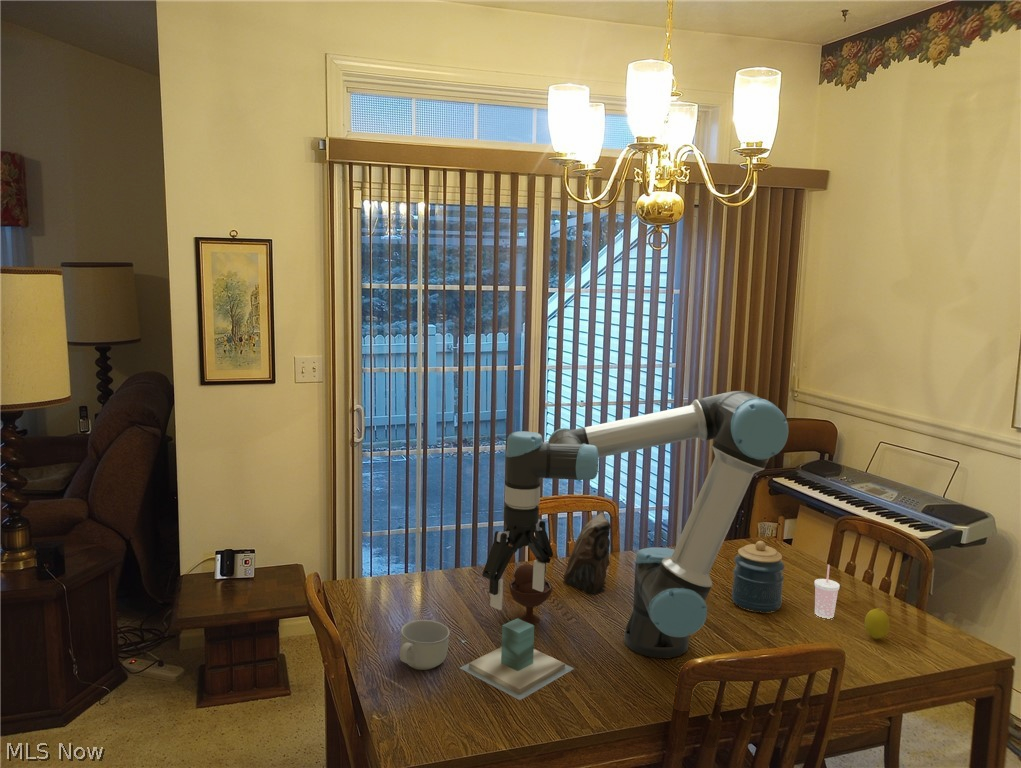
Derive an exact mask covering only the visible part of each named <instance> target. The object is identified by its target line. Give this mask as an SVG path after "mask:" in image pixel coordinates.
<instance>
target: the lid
mask: <svg viewBox="0 0 1021 768" xmlns="http://www.w3.org/2000/svg"><path fill="white" fill-rule="evenodd" d="M534 645H535V625H534V624H530V623H527V622H525V621H523V620H520V619H519V617H518V618H515V619H512V620H510V621H508V622H507V623H504V624H502V625H501V646H500V647H499V648H497V649H494V650H492V651H491V652H488V653H486V654H484V655H482V656H480V657H478V658H476V659H474V660H472V661H470V662H469V668H470V669H472V670H474V671H476V672H478V673H479V674H481V675H483V676H485V677H487V678H489V679H491V680H493V681H495V682H497V683H498V684H500V685H502V686H504V687H506V688H508V689H510V690H512V691H514V692H516V693H517V694H519V695H520V694H521V693H523V692H525V691H527V690H528V689H530V688H532V687H533V686H535V685H537V684H539V683H540V682H542V681H544V680H546V679H547V678H549V677H551V676H553V675H554V674H556V673H558V672H560V671H561V670H563V669H565V664H566V663H565V662H563V661H561V660H559V659H557V658H554V657H552V656H550V655H548V654H546V653H543V652H542V651H539V650H537V649H535V648H534V647H535V646H534Z"/></svg>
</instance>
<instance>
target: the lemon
mask: <svg viewBox="0 0 1021 768" xmlns="http://www.w3.org/2000/svg"><path fill="white" fill-rule="evenodd" d="M890 625H891V623H890V618H889V616H888V614H887V612H885V611H884V610H882V609H881V608H879V607H877V608H873V609H871V610H869V611H868V612H867V613H866V615H865V617H864V628H865V631H866V633H867V634H868V635H869V636H870V637H872V638H873V639H874V640H878V639H883V638H884V637H885V636H886V635H888V633H889V630H890Z"/></svg>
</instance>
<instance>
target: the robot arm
mask: <svg viewBox="0 0 1021 768" xmlns="http://www.w3.org/2000/svg"><path fill="white" fill-rule="evenodd" d="M788 436H789V422H788V420H787V418H786V415H785V414H784V413H783V412H782V410H781V409H780V408H779V407H778V406H776V405H775V404H774V403H773V402H772V401H770V400H768V399H764V398H762V397H760V396H757V395H756V394H754V393H751V392H749V391H745V390H744V391H743V390H733V391H728V392H727V391H726V392H723V393H718V394H714V395H711V396H706V397H702V398H696V399H694V400H693V401H692V403H690V405H685V406H680V407H676V408H671V409H667V410H666V409H665V410H661V411H655V412H652V413H647V414H641V415H637V416H633V417H628V418H623V419H618V420H613V421H608V422H604V423H600V424H595V425H590V426H585V427H580V428H575V429H570V428H566V427H563V428H558V429H556V430H554V431H553V432H552V434H551V435H550V436H549V438H548V441H547V442H544V440H543V436H542V434H541V433H539V432H535V431H527V430H526V431H524V430H523V431H521V430H520V431H513V432H511V433H510V434H509V435H508V436H507V439H506V450H505V451H506V452H505V476H504V477H505V478H504V479H505V481H504V502H505V504H504V505H503V521H504V524H506V527H505V531H500V530H496V531H495V532H494V537H493V543H492V544H491V545H492V546H491V548H490V551H489V554H488V557H487V559H486V562H485V565H484V567H483V568H484V569H483V571H482V573H481V575H482V577H483V578H485V579H488V580H489V594H490V598H489V599H490V602H489V606H490V607H491V608H494V609H496V610H498V611H501V610H502V608H503V593H504V590H503V587H504V579H503V578H502V576H503V575H504V572H505V570H506V568H507V566H508V564H509V562H510V561H511V559H512V557H513V556H514V554H515V553H517V551H518V550H519V549H521V548H523V547H528V548H529V549H530V551H531V553H532V554H533V555H534V557H535V559H534V560H533V587H532V588H533V589H535V590H538V591H540V592H543V591H544V575H545V576H546V572H547V569H546V567H547V564H550V563H551V558H553V557H554V553H553V549H552V546H551V545H552V544H551V543H550V540H549V537H548V533H547V531H546V530H547V529H546V521H544V520H542V519H540V518H539V517H540V515H539V514H540V506H539V505H540V502H541V501H540V500H541V499H540V498H541V479H547V480H549V479H550V480H551V479H552V480H574V481H575V480H576V481H590V480H591V481H592V480H594V479H596V477H597V476H598V472H599V471H598V470H599V458H604V457H609V456H614V455H619V454H624V453H625V454H626V453H629V452H633V451H638V450H643V449H644V450H645V449H649V448H652V447H658V446H659V447H660V446H663V445H668V444H673V443H677V442H684V441H687V440H692V439H697V438H698V439H700V440H701V441H703V442H704V441H709V440H714V441H713V443H712V446H711V447H712V451H713V453H714V459H713V461H712V464H711V466H710V469H709V471H708V473H707V475H706V477H705V480H704V482H703V484H702V487H701V489H700V491H699V493H698V496H697V497H696V501H695V503H694V505H693V507H692V510H691V512H690V513H689V516H688V518H687V520H686V523H685V525H684V528H683V529H682V532H681V534H680V537H679V539H678V541H677V544H676V546H675V548H668V547H658V546H657V547H645V548H641V549H639V550H638V551H637V552H636V556H635V561H634V564H635V566H634V567H635V568H634V588H633V591H634V592H633V606H632V607H633V608H632V611H631V614H630V616H629V619H628V622H627V624H626V626H625V629H624V636H623V641H624V643H625V645H626V647H628V648H629V649H630V650H631V651H633V652H634V653H637V654H639V655H642V656H646V657H650V658H657V659H672V657H673V658H677V657H679V656H678V655H680V656H682V655H681V654H683V653H684V654H685V653H686V652H687V651H688V650H689V645H690V644H689V643H690V642H689V641H690V638H689V636H690V635H694V634H696V632H698V631H700V629H701V628H702V627H703V626H704V624H705V623H706V620H707V616H708V606H707V603H706V600H707V598H708V596H709V593H710V590H711V589H712V587H713V584H714V583H713V581H712V578H711V576H710V573H711V570H712V568H713V566H714V563H715V561H716V559H717V557H718V554H719V552H720V550H721V548H722V546H723V543H724V541H725V539H726V537H727V534H728V532H729V530H730V528H731V526H732V524H733V521H734V519H735V516H736V515H737V512H738V510H739V508H740V506H741V503H742V501H743V499H744V497H745V495H746V492H747V490H748V488H749V486H750V483H751V481H752V479H753V477H754V475H755V474H756V473H759V472H761V471H763V470H765V469H766V467H767V464H768V462H769V460H770V458H772V457H774V456H776V455H779V453H780V452H781V451H782V450H783V449H784V447H785V445H786V444H787V441H788ZM687 649H688V650H687ZM684 654H683V655H684ZM676 656H677V657H676Z"/></svg>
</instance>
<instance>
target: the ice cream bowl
mask: <svg viewBox="0 0 1021 768" xmlns="http://www.w3.org/2000/svg"><path fill="white" fill-rule="evenodd" d="M533 565H534V564H533ZM533 565H532V564H529V563H527V564H523V565H518V567H517V568H516V570H515V571H514V574H513V578H514V579H512V580H511V581H509V582H508V587H509V591H510V592H509V593H510V595H511V597H512V599H513V600H514V601H515V602H516V603H518V604H519V605H521V606H522V607H524V608H525V613H524V614H522V615H521V616H519V617H518V619H520V620H523V621H525V622H527V623H530V624H532V625H534V624H538V623H539V622H540V617H539V616H537V615H535V614H534V608H535V607H539V606H541V605H542V604H543V603H545V601H546V600H548V599H549V598H550V596H551V594H552V591H553V585H552V583H551V582H550V581H548V580H547V579H546V574H545V575H544V591H543V592H540V591H538V590H535V589H533V588H532V587H533Z"/></svg>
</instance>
